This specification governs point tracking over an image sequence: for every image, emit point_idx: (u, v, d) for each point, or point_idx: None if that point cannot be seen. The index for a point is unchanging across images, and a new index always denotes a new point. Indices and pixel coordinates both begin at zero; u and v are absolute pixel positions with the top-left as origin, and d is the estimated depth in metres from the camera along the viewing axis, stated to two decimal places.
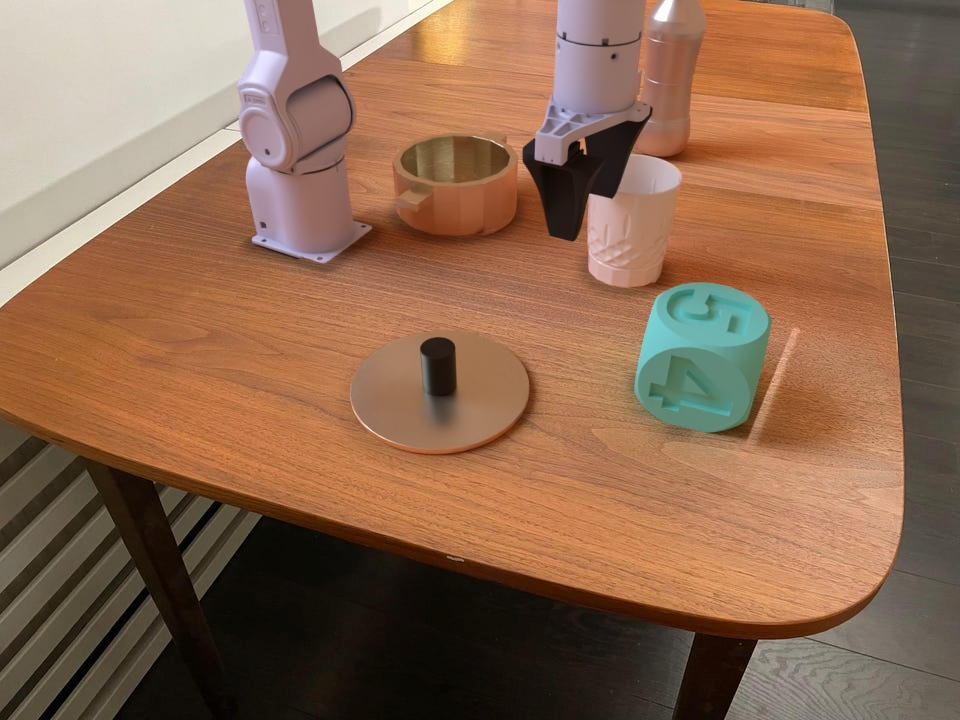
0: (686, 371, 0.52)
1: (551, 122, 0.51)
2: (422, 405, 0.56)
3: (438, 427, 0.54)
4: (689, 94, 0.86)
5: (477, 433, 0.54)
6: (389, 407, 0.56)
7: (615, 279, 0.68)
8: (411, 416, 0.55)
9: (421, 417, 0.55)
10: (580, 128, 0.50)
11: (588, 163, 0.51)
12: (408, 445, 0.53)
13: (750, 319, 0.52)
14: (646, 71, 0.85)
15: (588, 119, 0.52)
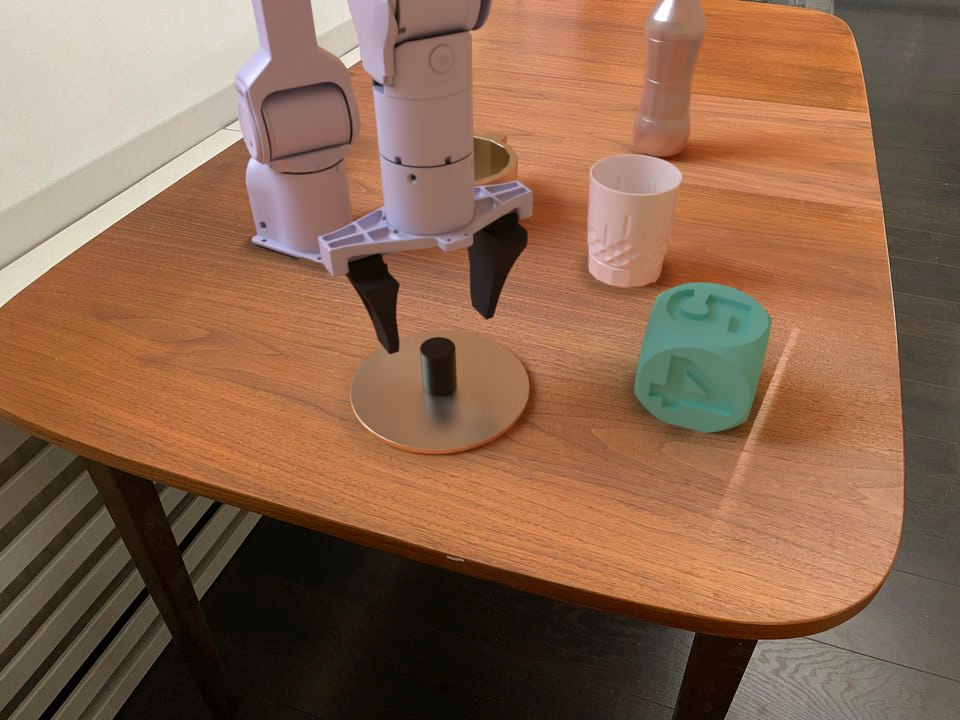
0: (686, 371, 0.52)
1: (355, 229, 0.47)
2: (422, 405, 0.56)
3: (438, 427, 0.54)
4: (689, 94, 0.86)
5: (477, 433, 0.54)
6: (389, 407, 0.56)
7: (615, 279, 0.68)
8: (411, 416, 0.55)
9: (421, 417, 0.55)
10: (363, 244, 0.46)
11: (373, 282, 0.47)
12: (408, 445, 0.53)
13: (750, 319, 0.52)
14: (646, 71, 0.85)
15: (394, 235, 0.47)
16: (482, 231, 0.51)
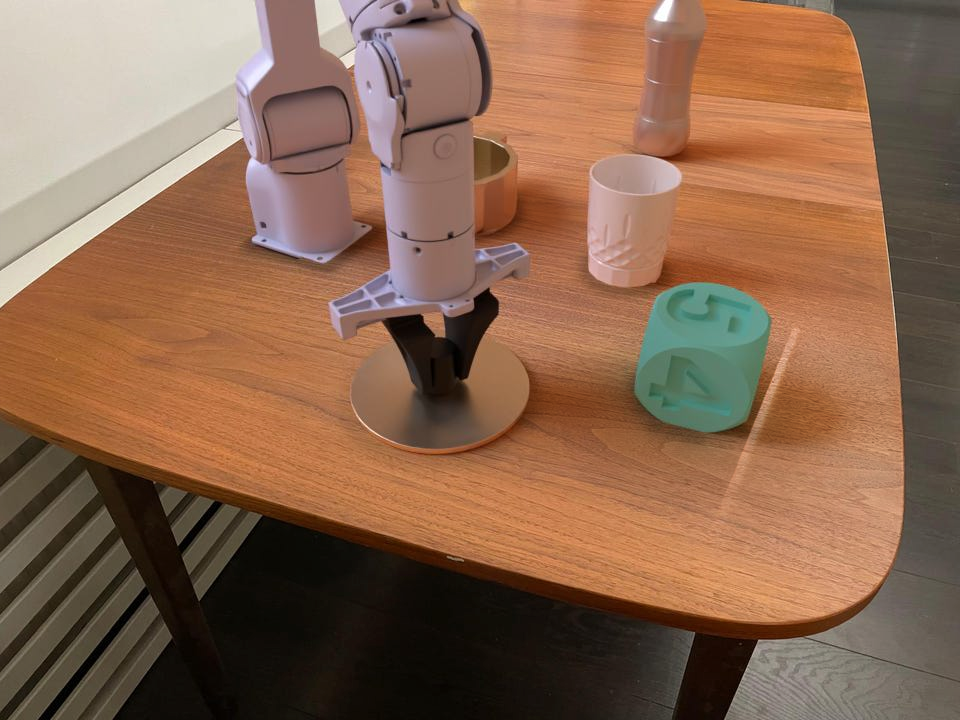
0: (686, 371, 0.52)
1: (363, 293, 0.51)
2: (422, 405, 0.56)
3: (438, 427, 0.54)
4: (689, 94, 0.86)
5: (478, 433, 0.54)
6: (389, 407, 0.56)
7: (615, 279, 0.68)
8: (411, 416, 0.55)
9: (421, 417, 0.55)
10: (371, 310, 0.49)
11: (411, 333, 0.51)
12: (408, 445, 0.53)
13: (750, 319, 0.52)
14: (646, 71, 0.85)
15: (400, 300, 0.50)
16: None
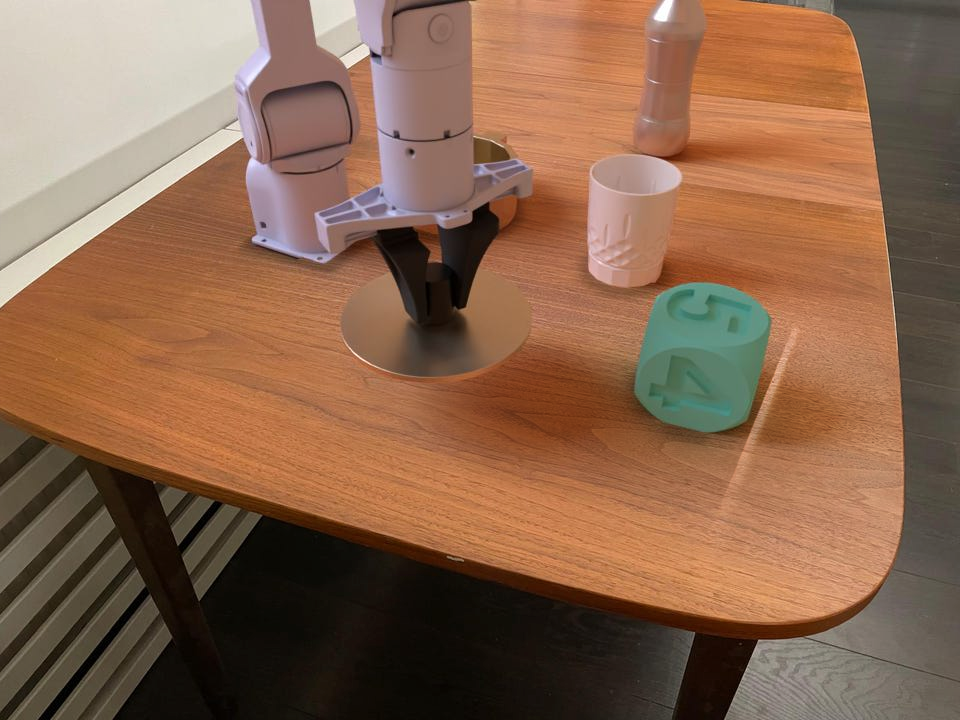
0: (686, 371, 0.52)
1: (352, 205, 0.47)
2: (417, 334, 0.52)
3: (434, 356, 0.50)
4: (689, 94, 0.86)
5: (476, 361, 0.50)
6: (382, 336, 0.52)
7: (615, 279, 0.68)
8: (405, 346, 0.51)
9: (415, 346, 0.51)
10: (360, 220, 0.45)
11: (404, 249, 0.47)
12: (402, 373, 0.49)
13: (750, 319, 0.52)
14: (646, 71, 0.85)
15: (392, 212, 0.46)
16: None
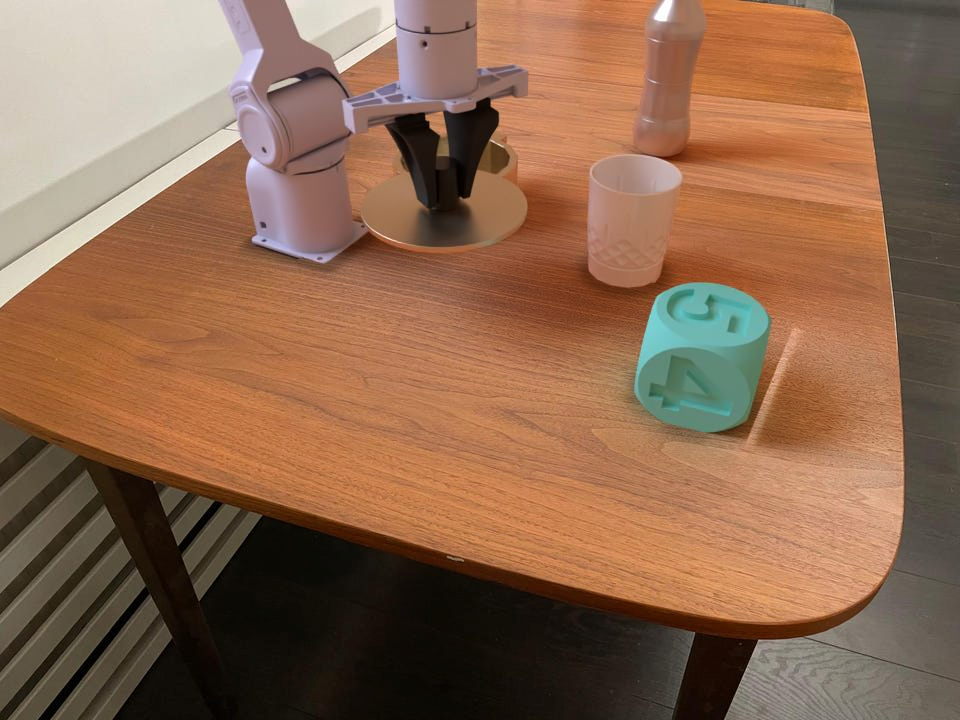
0: (686, 371, 0.52)
1: (373, 96, 0.55)
2: (427, 217, 0.60)
3: (442, 232, 0.59)
4: (689, 94, 0.86)
5: (479, 236, 0.58)
6: (397, 219, 0.60)
7: (615, 279, 0.68)
8: (417, 225, 0.59)
9: (426, 226, 0.59)
10: (381, 105, 0.53)
11: (417, 133, 0.55)
12: (414, 244, 0.57)
13: (750, 319, 0.52)
14: (646, 71, 0.85)
15: (408, 100, 0.54)
16: (459, 113, 0.58)
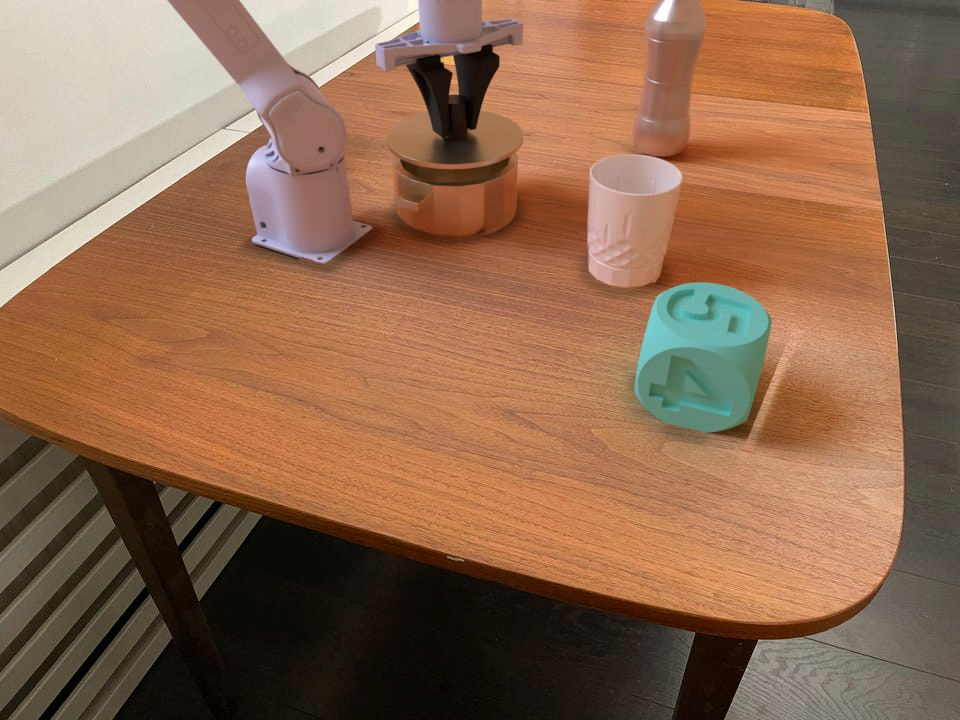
0: (686, 371, 0.52)
1: (399, 41, 0.69)
2: (442, 144, 0.74)
3: (454, 154, 0.72)
4: (689, 94, 0.86)
5: (484, 157, 0.72)
6: (417, 145, 0.74)
7: (615, 279, 0.68)
8: (434, 149, 0.73)
9: (441, 150, 0.73)
10: (406, 47, 0.67)
11: (434, 71, 0.69)
12: (432, 163, 0.71)
13: (750, 319, 0.52)
14: (646, 71, 0.85)
15: (427, 44, 0.68)
16: (467, 57, 0.72)
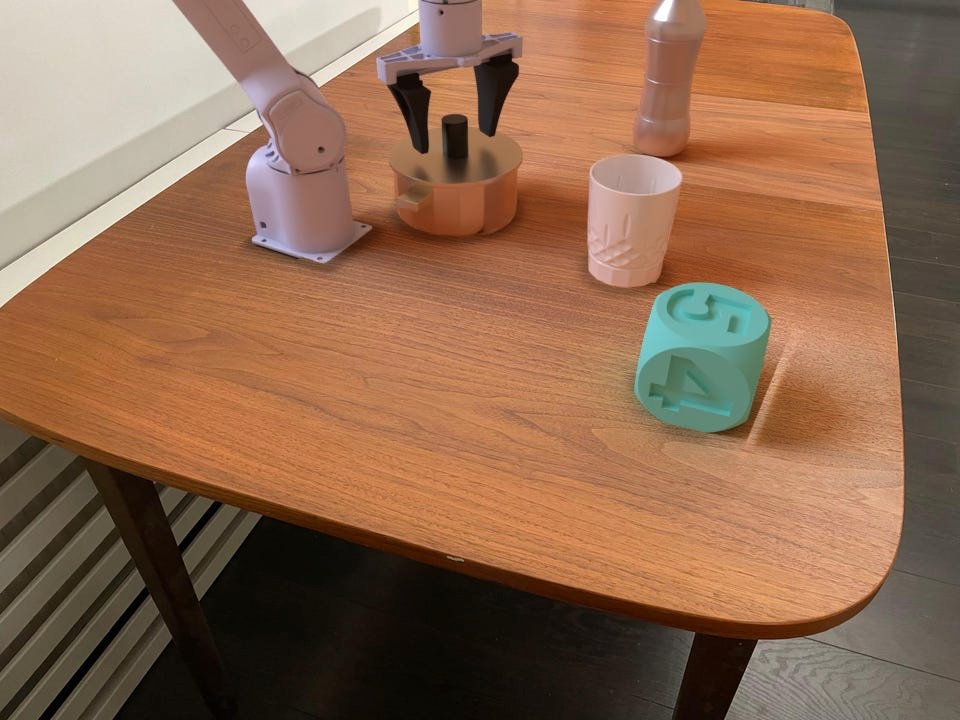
0: (686, 371, 0.52)
1: (400, 55, 0.70)
2: (443, 163, 0.75)
3: (455, 173, 0.74)
4: (689, 94, 0.86)
5: (484, 176, 0.73)
6: (418, 164, 0.75)
7: (615, 279, 0.68)
8: (435, 168, 0.75)
9: (442, 169, 0.74)
10: (407, 61, 0.68)
11: (413, 89, 0.69)
12: (433, 182, 0.72)
13: (750, 319, 0.52)
14: (646, 71, 0.85)
15: (428, 58, 0.69)
16: (487, 66, 0.73)
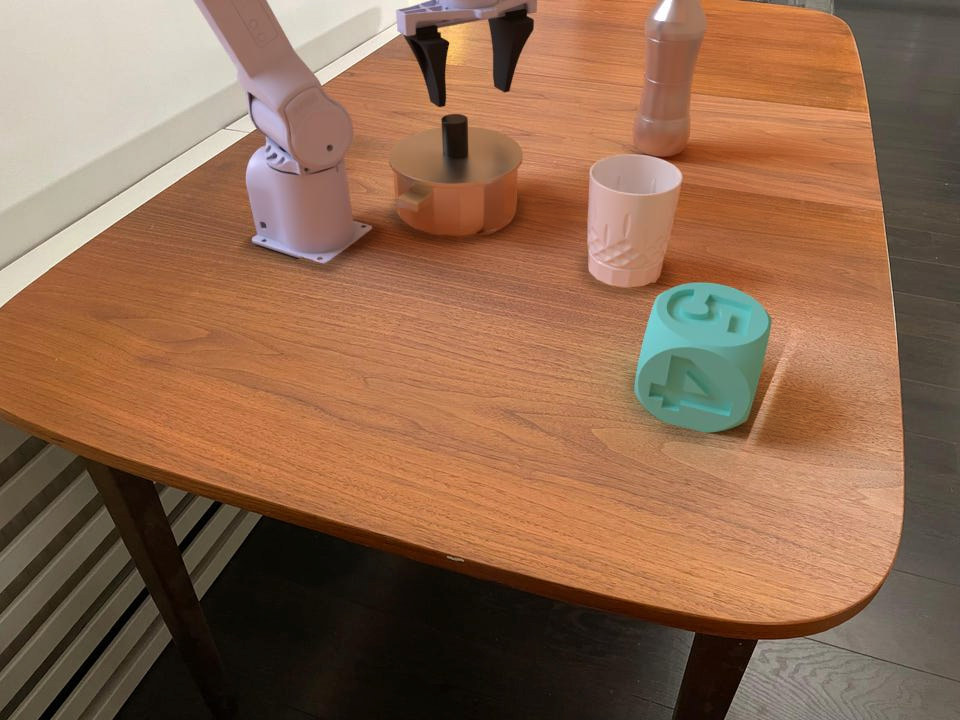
0: (686, 371, 0.52)
1: (419, 8, 0.72)
2: (443, 163, 0.75)
3: (455, 173, 0.74)
4: (689, 94, 0.86)
5: (484, 176, 0.73)
6: (418, 164, 0.75)
7: (615, 279, 0.68)
8: (435, 168, 0.75)
9: (442, 169, 0.74)
10: (426, 12, 0.70)
11: (432, 40, 0.71)
12: (433, 182, 0.72)
13: (750, 319, 0.52)
14: (646, 71, 0.85)
15: (446, 10, 0.71)
16: (502, 20, 0.75)
